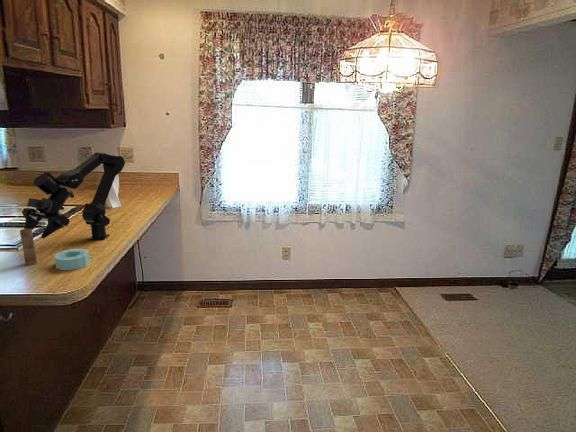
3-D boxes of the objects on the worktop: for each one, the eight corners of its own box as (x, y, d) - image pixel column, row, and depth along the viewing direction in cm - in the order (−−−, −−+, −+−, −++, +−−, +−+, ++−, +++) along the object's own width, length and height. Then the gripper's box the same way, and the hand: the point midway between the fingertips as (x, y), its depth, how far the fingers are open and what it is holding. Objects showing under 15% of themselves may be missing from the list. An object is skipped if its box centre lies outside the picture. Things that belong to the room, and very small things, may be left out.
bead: (66, 258, 151) (65, 248, 149) (95, 258, 151) (93, 249, 150) (49, 269, 140) (48, 259, 139) (80, 270, 140) (79, 260, 139)
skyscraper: (115, 204, 230) (111, 156, 223) (124, 206, 227) (120, 158, 219) (102, 207, 223) (97, 158, 216) (112, 209, 219) (107, 159, 212)
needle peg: (29, 261, 147) (24, 228, 143) (39, 261, 147) (34, 228, 143) (23, 265, 143) (17, 231, 140) (33, 265, 143) (27, 231, 140)
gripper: (22, 187, 148) (-3, 222, 141) (58, 191, 142) (34, 229, 135) (44, 202, 157) (21, 236, 150) (79, 208, 151) (57, 243, 144)
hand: (33, 236), depth 145 cm, fingers open, 9 cm apart
